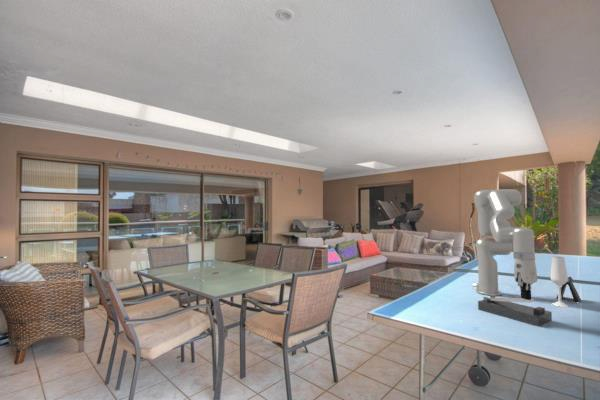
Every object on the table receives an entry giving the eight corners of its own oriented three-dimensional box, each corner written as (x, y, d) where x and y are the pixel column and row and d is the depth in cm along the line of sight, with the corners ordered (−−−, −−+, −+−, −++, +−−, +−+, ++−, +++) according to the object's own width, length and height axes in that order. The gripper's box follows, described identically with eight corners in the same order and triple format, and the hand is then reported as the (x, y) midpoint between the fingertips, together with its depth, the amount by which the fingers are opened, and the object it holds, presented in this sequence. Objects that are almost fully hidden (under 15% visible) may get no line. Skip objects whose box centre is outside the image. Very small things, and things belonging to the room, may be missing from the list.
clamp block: (478, 309, 139) (477, 297, 140) (492, 305, 145) (491, 294, 145) (538, 326, 118) (537, 312, 119) (551, 321, 124) (551, 307, 125)
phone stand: (581, 300, 154) (580, 277, 155) (579, 302, 150) (578, 279, 151) (558, 296, 161) (557, 274, 162) (556, 298, 157) (555, 276, 158)
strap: (487, 300, 140) (486, 298, 140) (491, 299, 142) (491, 297, 142) (529, 302, 125) (529, 300, 125) (534, 301, 126) (533, 298, 127)
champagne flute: (572, 307, 142) (570, 258, 143) (556, 306, 144) (554, 257, 145) (563, 303, 149) (561, 256, 150) (548, 302, 150) (546, 255, 151)
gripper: (525, 258, 122) (527, 303, 120) (542, 256, 129) (544, 298, 127) (505, 256, 128) (507, 298, 127) (522, 254, 135) (524, 294, 134)
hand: (526, 298), depth 127 cm, fingers closed
